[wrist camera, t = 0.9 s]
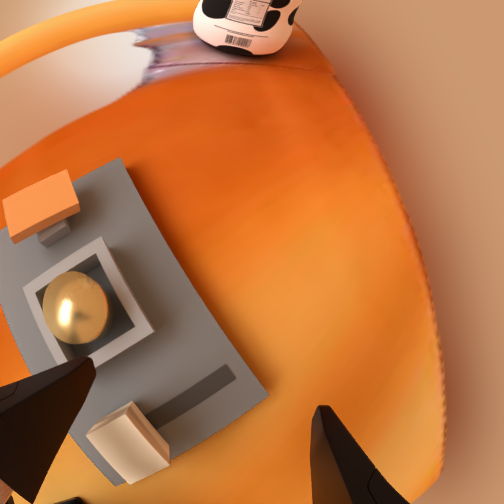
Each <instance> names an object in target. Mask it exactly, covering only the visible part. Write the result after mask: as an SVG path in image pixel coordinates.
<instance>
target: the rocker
mask: <svg viewBox="0 0 504 504" xmlns="http://www.w3.org/2000/svg"><path fill="white" fill-rule="evenodd" d="M2 201H3V207H4V212H5V217H6V222H7V227H8V231H9V235H10V238H11V240H12V241H13V243H14V244H17V243H19V242H20V241H22V240H24V239H26V238H28V237H30V236H31V235H33V234H35V233H37V232H39V231H41V230H43V229H45V228H47V227H49V226H51V225H53V224H55V223H57V222H59V221H61V220H63V219H65V218H67V217H69V216H71V215H73V214H76V213H78V212H80V206H79V202H78V199H77V196H76V194H75V191H74V188H73V186H72V183H71V180H70V177H69V174H68V171H67V169H66V170H64V171H62V172H59V173H57V174H55V175H52V176H50V177H48V178H46V179H43V180H41V181H39V182H37V183H35V184H33V185H31V186H29V187H27V188H25V189H23V190H21V191H19V192H17V193H15V194H13V195H11V196H9V197H7V198H5V199H4V200H2Z"/></svg>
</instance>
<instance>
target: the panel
mask: <svg viewBox="0 0 504 504" xmlns="http://www.w3.org/2000/svg"><path fill="white" fill-rule="evenodd" d="M72 186H73V188H74V191H75V194H76V196H77V199H78V202H79V206H80V212H78V213H76V214H73V215H71V216H69V217H67V218H65V219H63V220H61V221H59V222H57V223H55V224H53V225H51V226H49V227H47V228H45V229H43V230H41V231H39V232H37V233H35V234H33V235H31V236H30V237H28V238H26V239H24V240H22V241H20V242H19V243H17V244H14V243H13V241H12V240H11V238H10V235H9V231H8V227H7V226H6V227H5V228H3V229H2V230H1V231H0V303H1V306H2V309H3V312H4V315H5V317H6V320H7V323H8V325H9V328H10V330H11V333H12V335H13V337H14V340H15V342H16V344H17V346H18V349H19V351H20V353H21V355H22V357H23V359H24V361H25V363H26V365H27V367H28V369H29V371H30V373H31V375H35V374H37V373H40V372H42V371H45V370H47V369H50V368H52V367H55V366H57V365H60V364H62V363H65V362H67V361H70V360H72V359H75V358H77V357H79V356H82V355H86V356H88V357H91V358H92V359H93V362H94V366H95V369H96V378H95V380H94V382H93V384H92V387H91V389H90V391H89V393H88V396H87V398H86V400H85V402H84V404H83V406H82V408H81V410H80V412H79V413H78V415H77V417H76V419H75V421H74V422H73V424H72V426H71V428H70V430H69V431H68V433H69V434H70V435H71V437H72V438H73V439H74V441H75V442H76V443H77V444H78V446H79V447H80V448H81V449H82V451H83V452H84V453H85V454H86V455H87V457H88V458H89V459H90V460H91V461H92V462H93V463H94V465H95V466H96V467H97V468H98V469H99V470H100V471H101V472H102V473H103V474H104V475H105V476H106V477H107V479H108V480H109V481H110V482H111V483H112V484H113V485H114V486H118V485H120V484H122V483H125V482H127V481H126V480H125V479H124V478H123V477H122V476H121V475H120V474H119V473H118V472H117V471H116V470H115V469H114V468H113V467H112V466H111V465H110V464H109V463H108V462H107V461H106V459H105V458H104V457H103V456H102V455H101V454H100V453H99V451H98V450H97V449H96V448H95V447H94V445H93V444H92V443H91V442H90V440H89V439H88V438H87V437H86V434H87V433H88V432H89V430H90V429H91V428H92V427H93V426H94V424H95V423H96V422H97V421H98V420H99V419H101V418H103V417H105V416H106V415H108V414H110V413H112V412H114V411H115V410H117V409H119V408H121V407H122V406H124V405H126V404H128V403H129V402H131V401H133V402H134V403H135V405H136V406H137V407H138V409H139V410H140V411H141V412H142V414H143V415H144V416H145V417H146V419H147V420H148V421H149V422H150V424H151V425H152V426H153V427H154V428H155V430H156V431H157V432H158V433H159V434H160V435H161V437H162V438H163V439H164V440H165V441H166V442H167V443H168V444H169V455H170V460H171V459H173V458H175V457H177V456H178V455H180V454H182V453H184V452H185V451H187V450H189V449H191V448H192V447H194V446H196V445H197V444H199V443H201V442H202V441H204V440H205V439H207V438H209V437H210V436H212V435H213V434H215V433H217V432H218V431H220V430H221V429H223V428H224V427H226V426H227V425H229V424H230V423H232V422H233V421H235V420H236V419H237V418H239V417H240V416H242V415H243V414H245V413H246V412H247V411H249V410H250V409H252V408H253V407H254V406H256V405H257V404H258V403H260V402H261V401H262V400H264V399H265V398H266V397H268V396H269V394H268V392H267V391H266V390H265V388H264V387H263V386H262V384H261V383H260V382H259V380H258V379H257V378H256V376H255V375H254V374H253V372H252V371H251V370H250V368H249V367H248V366H247V364H246V363H245V362H244V360H243V359H242V357H241V356H240V355H239V353H238V352H237V350H236V349H235V348H234V346H233V345H232V343H231V342H230V341H229V339H228V338H227V336H226V335H225V333H224V332H223V330H222V329H221V328H220V326H219V325H218V323H217V322H216V320H215V319H214V317H213V316H212V314H211V313H210V311H209V310H208V308H207V307H206V305H205V304H204V302H203V301H202V299H201V298H200V296H199V294H198V293H197V291H196V290H195V288H194V287H193V285H192V284H191V282H190V280H189V279H188V277H187V276H186V274H185V272H184V271H183V269H182V268H181V266H180V264H179V263H178V261H177V259H176V258H175V256H174V254H173V253H172V251H171V249H170V248H169V246H168V244H167V243H166V241H165V239H164V238H163V236H162V234H161V232H160V231H159V229H158V227H157V225H156V224H155V222H154V220H153V218H152V217H151V215H150V213H149V211H148V210H147V208H146V206H145V204H144V202H143V200H142V199H141V197H140V195H139V193H138V191H137V189H136V187H135V186H134V184H133V182H132V180H131V178H130V176H129V174H128V172H127V170H126V168H125V166H124V164H123V162H122V160H121V158H120V157H119V158H117V159H115V160H113V161H111V162H109V163H107V164H105V165H103V166H101V167H99V168H97V169H96V170H94V171H92V172H90V173H88V174H86V175H84V176H83V177H81V178H79V179H77V180H76V181H74V182H72ZM69 271H76V272H81V273H83V274H85V275H87V276H89V277H90V278H91V279H93V280H94V281H96V282H97V283H98V284H100V285H101V286H102V287H103V288H104V289H105V290H106V291H107V293H108V294H109V296H110V298H111V301H112V304H113V311H114V312H113V321H112V324H111V327H110V329H109V331H108V332H107V333H106V334H105V335H104V336H103V337H102V338H101V339H99V340H97V341H95V342H91V343H83V344H69V343H66V342H63V341H61V340H60V339H58V338H57V337H56V336H55V335H54V334H53V333H52V332H51V331H50V329H49V328H48V326H47V324H46V322H45V319H44V315H43V298H44V294H45V291H46V289H47V287H48V285H49V284H50V283H51V281H52V280H53V279H54V278H55V277H57V276H58V275H60V274H62V273H65V272H69Z"/></svg>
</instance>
